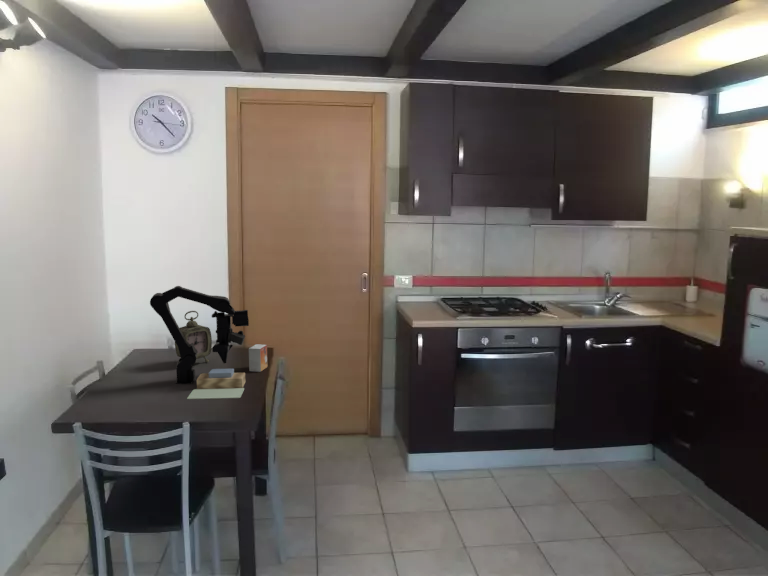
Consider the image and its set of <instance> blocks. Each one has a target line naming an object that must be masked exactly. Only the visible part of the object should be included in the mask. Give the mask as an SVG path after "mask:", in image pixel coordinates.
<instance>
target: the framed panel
mask: <svg viewBox="0 0 768 576" xmlns="http://www.w3.org/2000/svg"><path fill="white" fill-rule="evenodd" d="M245 384H246V372H234V374H233V376H232V378H209V372H207V373H203V372H202V373H200V375H198V377H197V378H196V389H224V388H244V386H245Z"/></svg>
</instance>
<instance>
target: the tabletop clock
mask: <svg viewBox="0 0 768 576" xmlns="http://www.w3.org/2000/svg"><path fill="white" fill-rule="evenodd" d="M191 313H196V317H193V316H191V317H190V318H186V317H187V316H188V314H191ZM198 317H199V313H198V311H196V310H190V311H187V312H186V313H185V314H184V319H185V320H186V321H187V323H186V325H184V326H179V328H180V330H181V332H182V334H183V335H184V337H185V339H186V341H187V342H188V343H189V344H191V343H193V344H194V347H195V349H197V358H196V360H198V359H202V358H203V359H204V362H205V363H209V359H208V358H206V357H207V356H209V355H211V352H212V347H213V345H212V341H213V340H212V332H211V329H210V327H208V326H204V325H202V324H201V325H200V324H198V322H197V321H196V319H198ZM174 349H175V353H176V355H177V357H179V358H181V357H180V353H179V349H178V346H177V344H176V342H175V341H174Z"/></svg>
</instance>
